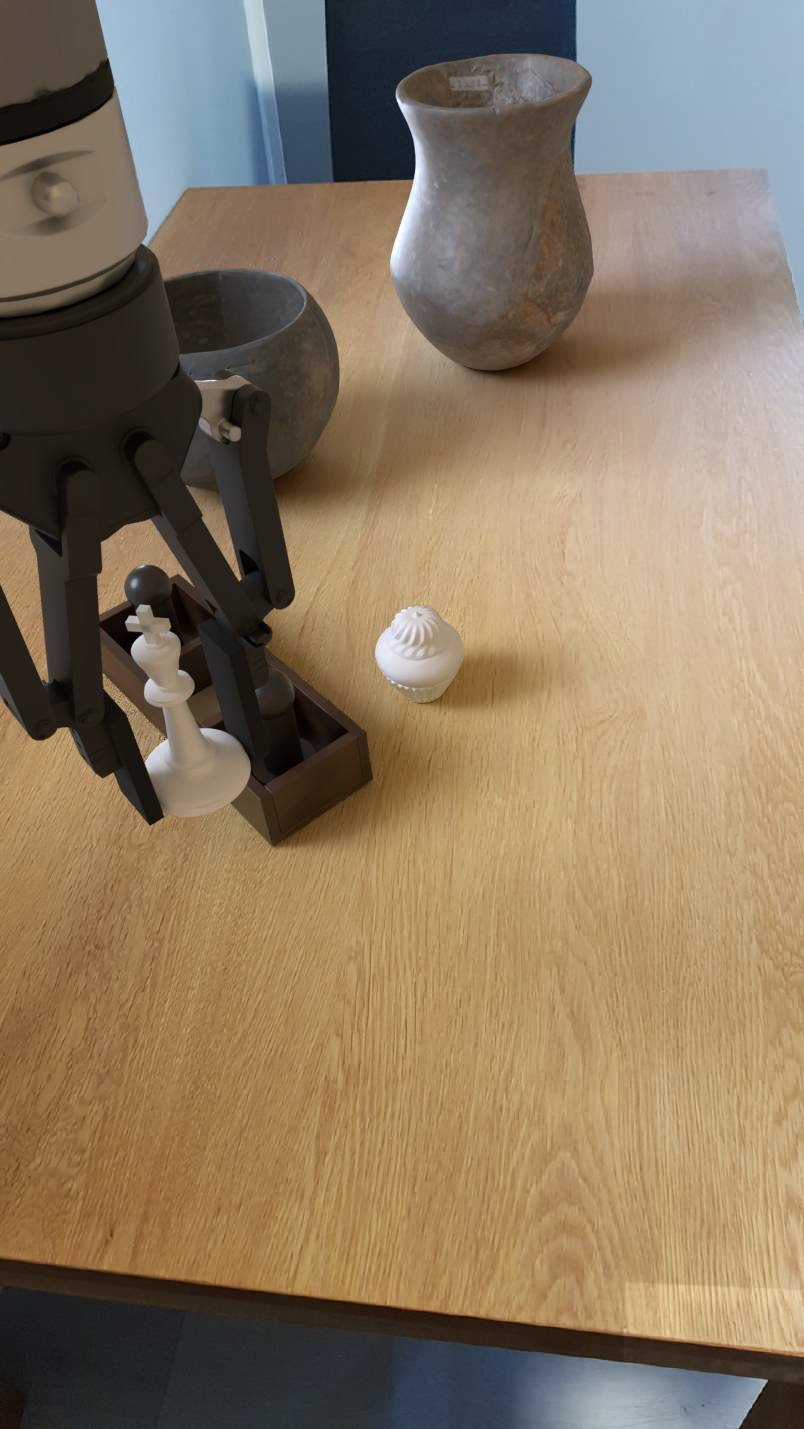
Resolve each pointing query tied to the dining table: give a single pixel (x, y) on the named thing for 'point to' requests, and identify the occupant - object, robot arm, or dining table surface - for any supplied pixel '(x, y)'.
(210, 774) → the chess piece
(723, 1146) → the dining table surface
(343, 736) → the rack
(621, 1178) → the dining table surface
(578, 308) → the vase
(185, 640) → the ebony piece
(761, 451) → the dining table surface
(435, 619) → the muffin
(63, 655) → the robot arm
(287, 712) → the ebony piece
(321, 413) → the bowl
